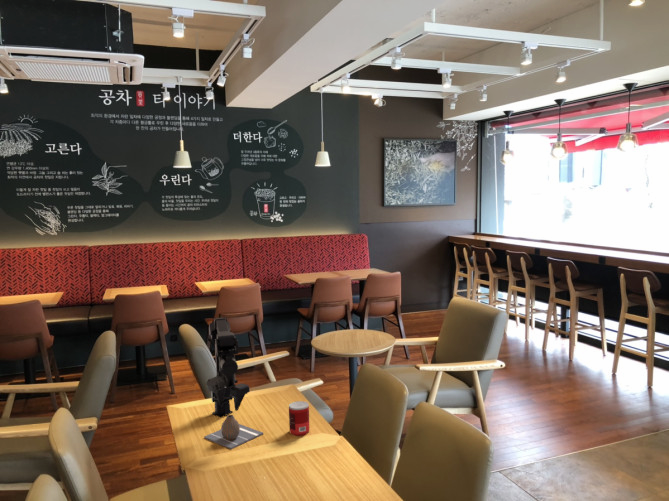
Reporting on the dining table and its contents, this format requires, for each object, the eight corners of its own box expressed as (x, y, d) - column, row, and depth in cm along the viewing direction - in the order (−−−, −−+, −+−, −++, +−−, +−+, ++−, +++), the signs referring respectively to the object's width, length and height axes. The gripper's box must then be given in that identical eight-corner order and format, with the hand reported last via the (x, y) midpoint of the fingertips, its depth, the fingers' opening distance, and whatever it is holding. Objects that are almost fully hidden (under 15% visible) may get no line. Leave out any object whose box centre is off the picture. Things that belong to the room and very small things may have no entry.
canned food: (312, 429, 208) (312, 402, 207) (303, 437, 201) (302, 409, 200) (296, 426, 211) (295, 399, 211) (286, 434, 204) (285, 406, 203)
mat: (204, 438, 203) (204, 436, 203) (236, 424, 215) (236, 422, 215) (231, 449, 193) (231, 447, 192) (263, 434, 205) (263, 432, 205)
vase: (242, 434, 203) (241, 412, 203) (236, 442, 197) (236, 419, 196) (225, 434, 204) (224, 412, 204) (218, 441, 197) (218, 419, 197)
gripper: (194, 368, 199) (196, 408, 200) (226, 377, 187) (227, 420, 188) (218, 361, 207) (219, 400, 208) (249, 369, 195) (251, 410, 197)
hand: (228, 407), depth 200 cm, fingers open, 9 cm apart
